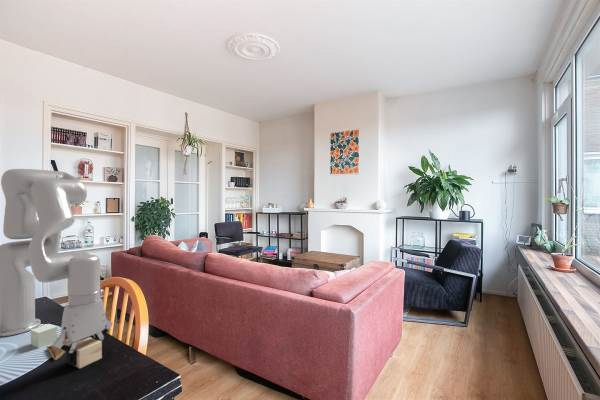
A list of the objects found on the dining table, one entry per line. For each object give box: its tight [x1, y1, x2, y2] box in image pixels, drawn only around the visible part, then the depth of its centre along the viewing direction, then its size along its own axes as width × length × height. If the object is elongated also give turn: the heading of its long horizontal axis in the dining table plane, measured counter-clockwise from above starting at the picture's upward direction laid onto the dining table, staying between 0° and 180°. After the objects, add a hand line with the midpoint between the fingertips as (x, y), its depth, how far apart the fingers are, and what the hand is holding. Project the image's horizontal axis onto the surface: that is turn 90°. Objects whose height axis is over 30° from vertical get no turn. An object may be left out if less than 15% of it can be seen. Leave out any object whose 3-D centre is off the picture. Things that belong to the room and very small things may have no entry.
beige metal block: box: [74, 336, 103, 369], centre depth 86 cm, size 6×6×5 cm
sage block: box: [30, 323, 58, 349], centre depth 96 cm, size 5×5×5 cm
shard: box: [46, 339, 80, 361], centre depth 91 cm, size 11×8×2 cm
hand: (85, 358), depth 87 cm, fingers closed on beige metal block, 6 cm apart
